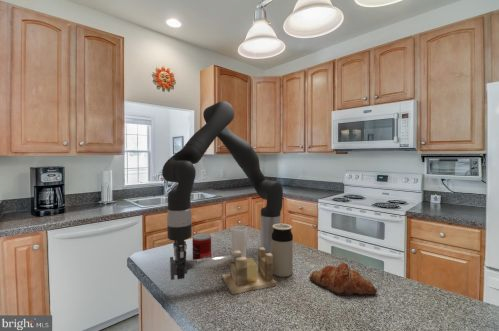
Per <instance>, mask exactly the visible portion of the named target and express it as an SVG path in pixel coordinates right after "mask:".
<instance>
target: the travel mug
mask: <svg viewBox="0 0 499 331" xmlns="http://www.w3.org/2000/svg"><path fill="white" fill-rule="evenodd" d="M272 227H273V233H272V255H273V276H277V277H281V278H286V277H290V276H292V274H293V271H294V269H293V266H294V265H293V261H294V258H293V253H294V252H293V248H294V243H293V242H294V238H293V237H294V236H293V233H292V229H293V226H292V225H291V224H288V223H280V224H274V225H273V226H272Z"/></svg>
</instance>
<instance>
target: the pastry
mask: <svg viewBox="0 0 499 331" xmlns="http://www.w3.org/2000/svg"><path fill="white" fill-rule="evenodd" d="M308 279H309V280H310V281H311V282H312V283H314V284H317V285H319V286H320V287H322V288H325V289H327V290H329V291H332V292H333V293H335V294H337V295H341V296H342V295H344V296H352V295H358V296H367V295H368V296H374V295H376V294H377V292H378V290H377V289H376V287H375V286H374V284H373V283H372V281H370V280H368V279H367V278H364V277H363V276H361V274H360V273H359V271H357V270H355V269H350V268H349V265H348V263H344V262H341V263H339V265H338V266H333V265H326V266H325V267H323V268H322V269H319V270H314V271H313V272H311V274H310V275H309V278H308Z"/></svg>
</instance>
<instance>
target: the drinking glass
mask: <svg viewBox="0 0 499 331" xmlns="http://www.w3.org/2000/svg"><path fill="white" fill-rule="evenodd" d="M230 243H231V252H232V251H240V252H241V257H246V258H247V247H248V227H247V226H242V225H238V226H237V225H236V226H233V227H231V228H230Z"/></svg>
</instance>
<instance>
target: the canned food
mask: <svg viewBox="0 0 499 331" xmlns="http://www.w3.org/2000/svg"><path fill="white" fill-rule="evenodd" d="M210 257H212V235H211V234H210V233H207V232H205V233H204V232H202V233H197V234H194V235H193V236H192V260H196V259H203V258H210Z"/></svg>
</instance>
